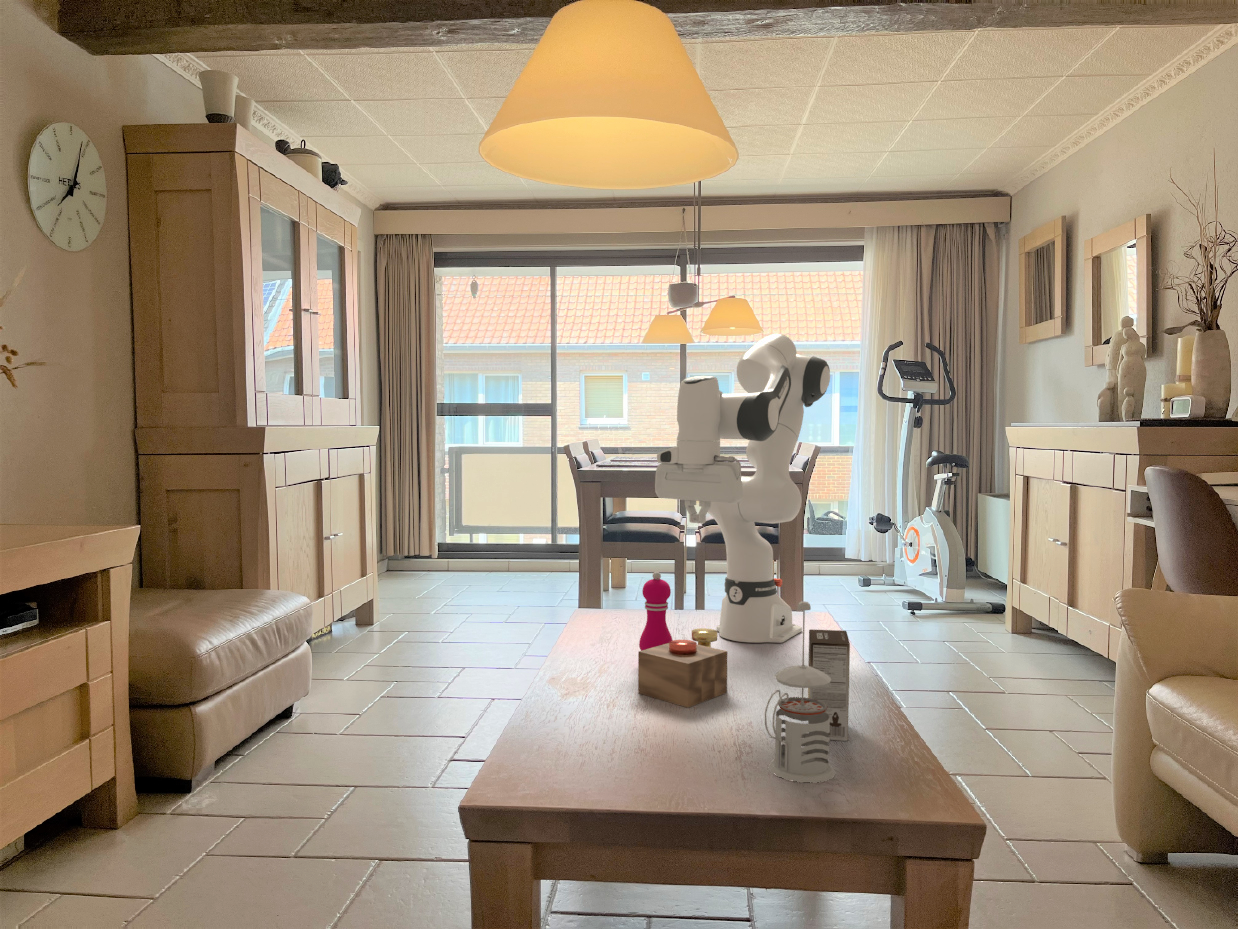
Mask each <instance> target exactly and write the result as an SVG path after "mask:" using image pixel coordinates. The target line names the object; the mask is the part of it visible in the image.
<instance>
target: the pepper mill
mask: <svg viewBox="0 0 1238 929" xmlns="http://www.w3.org/2000/svg"><path fill="white" fill-rule="evenodd" d="M661 577H662V576H661V573H660V572H659V571H655V572H653V573H652V579H649V580H647V581H646V582H645V583H644V585H643V587H642V596H643V598H644V599H645V602H644V609H645V610H646V623H645V626H644V629H643V631H642V633H641V635H640V637H639V643H638V645H639V649H640V650H639V651H642V650H646V649H649V648H653V647H656V646H660V645H663V644H667V643H669V642H670V641H673V640H674V639H673V638H672V633H671V631H670V630H669V627H668V625H667V620H666V619H667V618H666V616H667V615H666V614H667V610H668V609H669V606H668V605H669V602H668V599H669V598H670V597H671V594H672V589H671V586H670V584H669V583H668V582H667V581H666V580H664V579H661Z"/></svg>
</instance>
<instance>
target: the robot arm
mask: <svg viewBox="0 0 1238 929" xmlns="http://www.w3.org/2000/svg"><path fill="white" fill-rule="evenodd" d="M736 377H737V380H738V382H739V384H740V386H741V387H742V389H743V390H744V391H746V392H742V393H741V392H738V393H734V392H733V393H724V392H723V391H721V390H720V386H719V385H720V384H719V380H718V378H717V376H713V375H697V376H690V377H686V378H684V379H683V380H682V381H681V382H680V385H679V388H678V389H679V390H678V395H677V405H676V421H677V425H678V432H677V437H676V446H672V447H670V448H668V449H665V450H663V451H659V452H658V453H657V454H656V461H657V463H658V465H657V467H656V469H655V477H654V478H655V479H654V492H655V494H656V496H657V498H658V499H667V500H668V499H670V500H671V499H672V500H681V501H684V507H685V509H686V511H687V514H689V515H688V516H689V523H691V524H692V523H693V524H705V523H706V521H707V518H706V517H707V514H708V515H710V516H711V517H712V518H713V520H715V522H716V523H717V526H718V527H719V529H720V531H721V534H722V537H723V540H724V544H725V550H726V577H725V578H724V585H723V586H724V593H725V595H724V597H723V598H722V599H721V608H720V617H719V618H720V620H719V624H718V625H716V629H715V630H716V631H717V632H718V633H719V634H718V635H719V636H720V637H721V638H723V639H726V640H731V641H734V642H739V643H740V642H741V643H754V644H755V643H757V644H758V643H780V644H781V643H784V642H786V641H788V640H790V639H792V637H794V636H796V635H798V634H799V633H801V632H803V626H800V625H797V624H794V623H793V611H792V608H791V606H790V605H789V604H787V602H785V600H784V599H782V597H780V595H779V594H778V590H777V587H778V588H781V587H782V586H783V584H784V583H783V579H782V578H776V577H774V575H773V574H774V571H773V570H774V569H773V568H774V564H773V563H774V562H773V561H774V549H773V547H772V545H771V543H770V542H769V541H768V540H767V539H765V538H764V537H763V536H761V534H760V533H759V531H758V529H757V527H756V523H763V524H781V523H786V522H791V521H793V520H794V519H796V517H797V516H798V514H799V512H800V510H801V507H802V500H803V499H802V495H801V490H800V489H799V487H798V486H797V485H796V483H795V482H794V480H792V478H791V475H790V464H791V460H792V456H793V453H794V451H795V448H796V445H797V442H798V439H799V436H800V433H801V429H802V425H803V420H804V413H805V409H804V407H805V408H809V407H812V406H813V404H814V403H815V402H817V401H819V400H820V399H821V398H822V397H823V396H824V395H825V394H826V392H827V390H828V388H829V386H830V382H831V381H830V380H831V370H830V366H829V364H828V362H827V361H826V360H825V359H822V358H821V357H817V356H814V355H813V356H808V355H803V354H799V353H798V352H797V347H796V345H795V343H794V341H793V340H792V339H791V338H790V337H789V336H786V335H784V334H781V333H773V334H769V335H767V336H764V337H763V338H761V339H760V340H757V341H756V342H755V343H754V344H753V345H751V346H750V347H749V348H748V349H747V350H746V351H745V352H744V353H743V355H741V357H740V358H739V361H738V362H737V366H736ZM721 440H747V441H748V443H747V446H746V450H745V455H746V458H747V460H748V462H749V463H750V465H751V466H752V467H753V468H755V469H756V470H755V473H754V474H753V475H750V476H746V475H742V465H741V464H742V463H741V462H740V461H739V460H738V458H736V457H735V456H734V455H733V456H732V455H731V456H726V455H721ZM697 502H698V506H699V507H700V508H699V512H697V509H696V505H697Z"/></svg>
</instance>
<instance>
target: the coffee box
mask: <svg viewBox="0 0 1238 929" xmlns="http://www.w3.org/2000/svg"><path fill="white" fill-rule="evenodd" d="M850 650H851V643H850V639H849V635H848V632H847V630H837V629H836V630H831V629H809V630H808V666H810V667H813V668H815V669H817V670H820V671H822V672H824V673H825V674H827V675H828V676H829V677H830V678H831V681H830V683H829V684H828V685H826V686H823V687H818V688H807V698H810V699H811V698H812V699H814V700H815V699H816V700H820V701H821V702H824V703H825V704H826V705H827V707H828V708H827V709H826V711H825V712H826V713H827V714H828V715H829V717H830V732H829V733H828V735H829V741H842V742H848V740H849V705H850V703H849V699H850V698H849V697H850V694H849V693H850V661H851V660H850V656H851V655H850V653H851V651H850ZM807 722H808V723H807V724H809V721H807Z"/></svg>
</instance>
